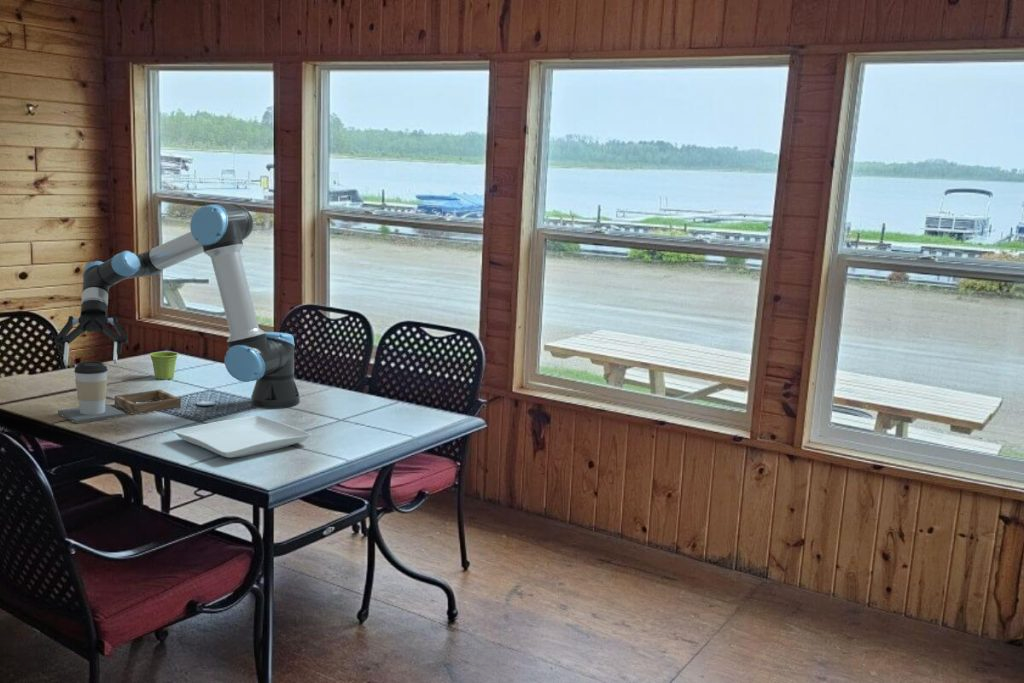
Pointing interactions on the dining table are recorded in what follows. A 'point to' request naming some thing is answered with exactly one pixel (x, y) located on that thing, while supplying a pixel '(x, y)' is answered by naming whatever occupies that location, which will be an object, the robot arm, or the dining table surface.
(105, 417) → the rubber mat
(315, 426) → the dining table surface
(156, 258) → the robot arm
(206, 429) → the square plate
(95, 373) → the coffee cup
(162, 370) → the plant pot
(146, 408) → the brown wooden tray
